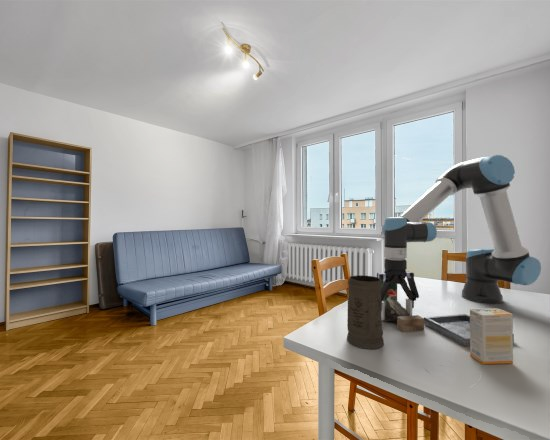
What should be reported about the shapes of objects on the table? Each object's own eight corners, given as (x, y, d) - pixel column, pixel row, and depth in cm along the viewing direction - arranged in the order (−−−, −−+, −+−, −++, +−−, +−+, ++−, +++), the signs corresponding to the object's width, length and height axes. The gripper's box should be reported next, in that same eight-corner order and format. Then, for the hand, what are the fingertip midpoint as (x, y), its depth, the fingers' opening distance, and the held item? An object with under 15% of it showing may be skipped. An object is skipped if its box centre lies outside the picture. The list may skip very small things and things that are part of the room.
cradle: (389, 309, 110) (389, 300, 110) (424, 330, 90) (424, 318, 90) (371, 311, 108) (371, 301, 108) (402, 331, 89) (402, 320, 89)
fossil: (416, 325, 93) (402, 299, 93) (391, 335, 94) (377, 310, 95) (407, 312, 103) (394, 289, 104) (385, 322, 105) (372, 299, 106)
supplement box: (497, 354, 74) (497, 307, 74) (513, 364, 69) (514, 314, 69) (468, 355, 74) (468, 308, 74) (482, 364, 69) (483, 314, 69)
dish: (465, 320, 98) (465, 314, 98) (513, 342, 81) (513, 334, 81) (423, 324, 95) (423, 317, 95) (465, 347, 78) (465, 338, 78)
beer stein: (379, 354, 74) (380, 282, 75) (341, 344, 80) (343, 277, 81) (388, 336, 87) (389, 275, 88) (355, 329, 93) (356, 271, 94)
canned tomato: (394, 309, 111) (394, 282, 111) (375, 305, 115) (375, 280, 115) (399, 304, 117) (399, 279, 117) (380, 300, 122) (380, 276, 122)
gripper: (372, 261, 93) (371, 324, 94) (430, 259, 97) (430, 319, 98) (361, 258, 101) (361, 316, 101) (416, 256, 105) (416, 312, 105)
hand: (395, 317), depth 99 cm, fingers closed on fossil, 11 cm apart
